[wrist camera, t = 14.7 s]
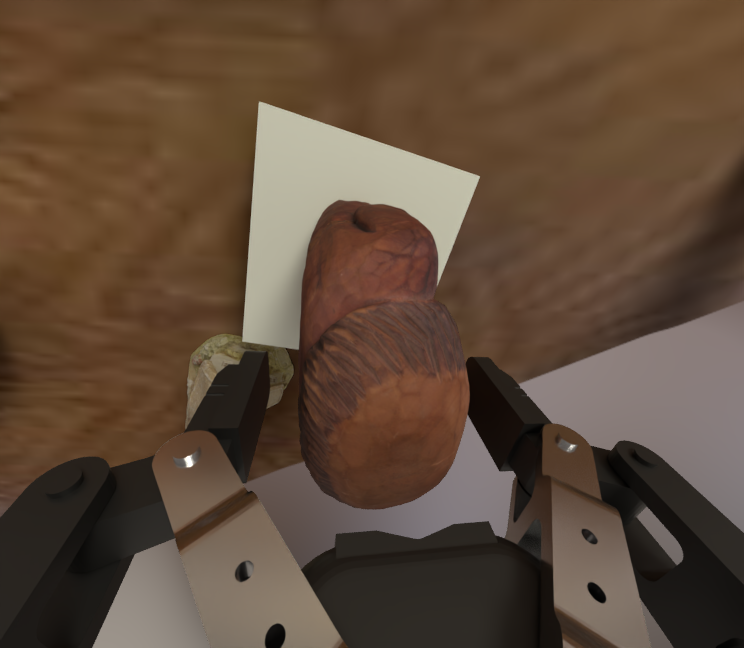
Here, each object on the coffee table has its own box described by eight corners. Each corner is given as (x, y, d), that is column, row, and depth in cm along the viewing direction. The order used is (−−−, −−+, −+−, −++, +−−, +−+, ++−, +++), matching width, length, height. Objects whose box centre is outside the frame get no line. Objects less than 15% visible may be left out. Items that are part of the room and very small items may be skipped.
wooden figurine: (377, 331, 27) (461, 556, 11) (308, 331, 25) (295, 585, 10) (393, 196, 21) (605, 262, 6) (307, 188, 20) (273, 243, 4)
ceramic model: (202, 315, 30) (149, 376, 21) (304, 347, 33) (295, 410, 24) (179, 408, 35) (129, 487, 26) (269, 427, 38) (251, 503, 30)
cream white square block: (450, 175, 27) (479, 176, 21) (394, 335, 34) (406, 365, 29) (275, 117, 23) (259, 101, 18) (257, 312, 31) (242, 341, 25)
